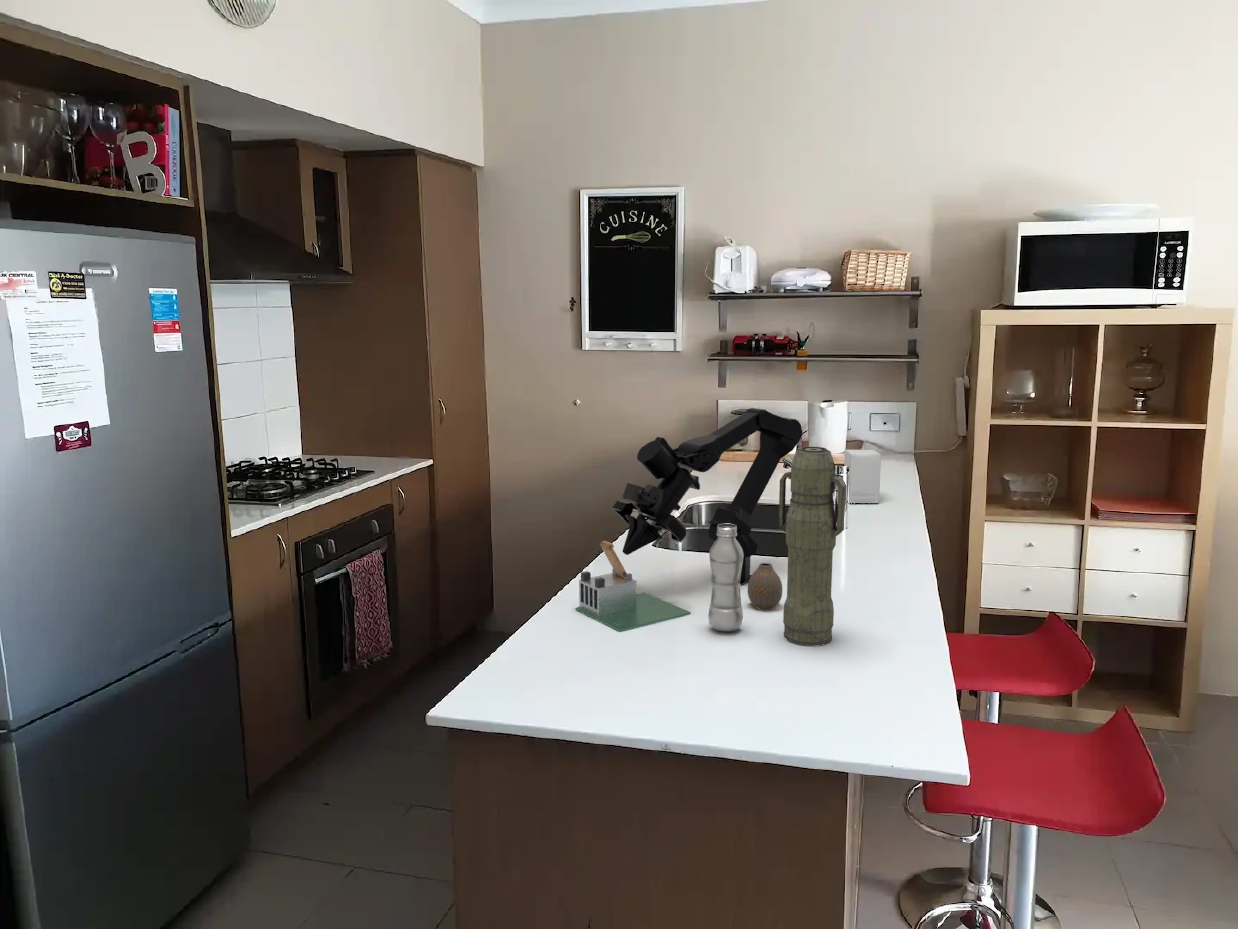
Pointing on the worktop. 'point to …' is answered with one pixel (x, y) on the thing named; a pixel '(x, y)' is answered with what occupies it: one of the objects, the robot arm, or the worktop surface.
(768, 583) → the vase
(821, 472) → the thermos
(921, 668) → the worktop surface
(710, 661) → the worktop surface
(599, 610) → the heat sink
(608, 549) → the tan flat bar
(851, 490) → the supplement box
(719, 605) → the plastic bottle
